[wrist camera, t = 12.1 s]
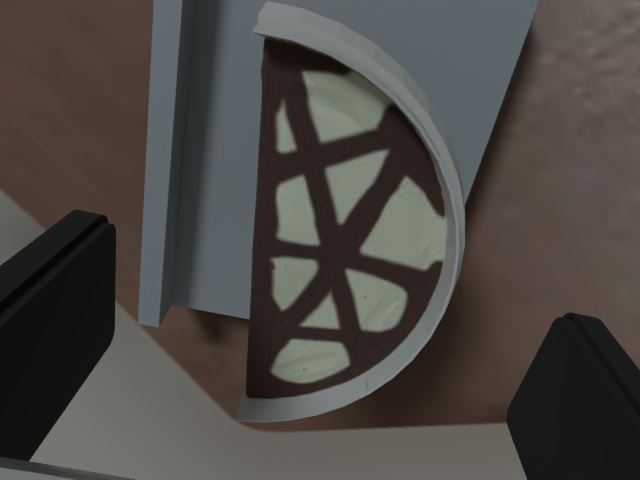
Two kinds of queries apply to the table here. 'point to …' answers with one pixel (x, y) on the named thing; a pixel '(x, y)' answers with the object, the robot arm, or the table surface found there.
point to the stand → (245, 114)
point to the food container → (343, 220)
